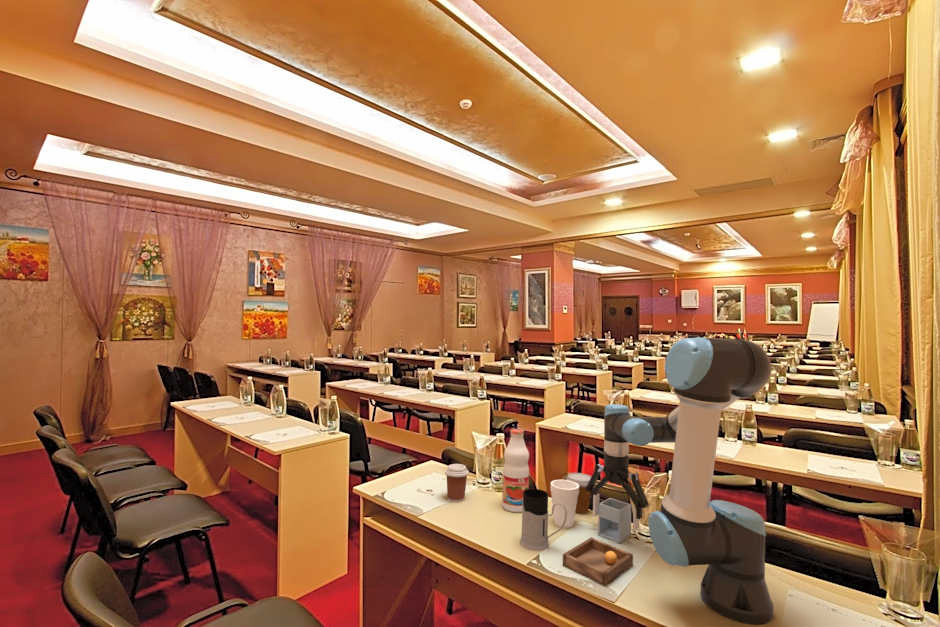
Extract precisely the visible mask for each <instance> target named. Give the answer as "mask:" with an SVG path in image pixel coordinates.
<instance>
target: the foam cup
mask: <svg viewBox="0 0 940 627" xmlns="http://www.w3.org/2000/svg"><path fill="white" fill-rule="evenodd" d="M550 493H551V504H552V507H553V505H554V504H556V503H561V504H563V505H564V506H565V508H566V510H567V518H566V522H565V524H564V526H563V528H562V529H568V528H572V527H573V526H574V522H575V517H576V513H575V511H576V505H577V498H578V495H579V485H578V484H577V483H575V482H573V481H569V480H567V479H554V480H552V481H550ZM552 516H553V523H554V525H555V526H557V527H559V528H561V526H562V525H563V523H564V520H565V509H564V508H563V507H562V506H561V505H559V504H557V505H555V507H554V510H553V515H552Z"/></svg>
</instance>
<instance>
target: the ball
mask: <svg viewBox="0 0 940 627" xmlns="http://www.w3.org/2000/svg"><path fill="white" fill-rule="evenodd" d="M605 559H606V561H607V562H608V563H609V564H614V563H616V561H617V556H616V554H615V553H614V552H613V551H608V552H606V554H605Z"/></svg>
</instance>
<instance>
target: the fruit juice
mask: <svg viewBox="0 0 940 627" xmlns="http://www.w3.org/2000/svg"><path fill="white" fill-rule="evenodd" d="M524 435H525V431H524V429H521V428H511V429H510V437H509V442H508V444H507V446H506V448H505V450H504V451H503V452H504V453H503V456H504V464H503V468H502V469H503V470H502V500H501V504H502V508H503V510H505V511H508V512H510V513H522V503H523V492H524V491H525V490H527V489H530V488H529V487H530V468H529V464H528V462H529V458H530V451H529V450H528V448H527V445H526V442H525V440H524Z"/></svg>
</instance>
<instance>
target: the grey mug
mask: <svg viewBox="0 0 940 627" xmlns="http://www.w3.org/2000/svg"><path fill="white" fill-rule="evenodd" d="M557 504H559V505H561V506H562V507H563V508H564V509H565V520H564V523H563V525H562V526H561V527H559V528H558V529H557V530H555V531H554V532H552V533H550V534H549V532H548V530H549V517H551V516H553V510H554V507H555V505H557ZM548 509H549V493H548V492H547V491H546V490H542V489H540V488H529V489H527V490H525V491H524V492H523V503H522V512H521V513H522V514H521V538H520V539H519V544H520V545H521V547H523V548H525V549H527V550H530V551H543V550H546V549H548V548H549V546H550V544H549V538H550V537H552V536H553V535H556V534H557V533H558V532H560V531H561V530H563V529H564V528H563V526H564V524H565V522H566V518H567V510H566V508H565V506H564V505H563V504H561V503H556V504H554V505H553V506H552V507H551V514H550V513H549V510H548Z"/></svg>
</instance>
